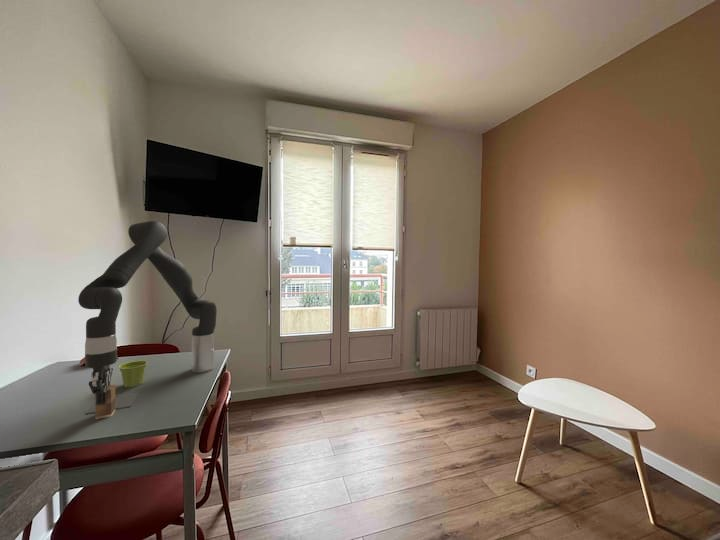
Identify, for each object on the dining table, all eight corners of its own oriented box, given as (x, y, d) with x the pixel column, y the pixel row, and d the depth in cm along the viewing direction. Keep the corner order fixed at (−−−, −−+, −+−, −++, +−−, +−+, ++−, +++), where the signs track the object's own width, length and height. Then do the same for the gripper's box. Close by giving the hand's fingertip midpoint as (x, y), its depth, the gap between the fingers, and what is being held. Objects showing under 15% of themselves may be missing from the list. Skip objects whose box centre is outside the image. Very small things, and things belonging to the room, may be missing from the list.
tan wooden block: (115, 410, 98) (115, 384, 98) (111, 416, 94) (111, 389, 94) (100, 413, 96) (100, 386, 96) (95, 419, 92) (95, 391, 92)
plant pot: (116, 384, 118) (116, 364, 118) (144, 378, 125) (145, 358, 125) (120, 392, 112) (120, 370, 112) (149, 384, 119) (149, 364, 119)
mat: (139, 392, 111) (139, 391, 111) (130, 406, 101) (130, 405, 101) (99, 398, 106) (99, 397, 106) (85, 414, 95) (85, 413, 95)
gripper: (109, 354, 87) (109, 410, 87) (122, 342, 98) (122, 392, 99) (76, 357, 83) (76, 416, 84) (93, 345, 95) (94, 396, 95)
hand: (101, 403), depth 91 cm, fingers closed
